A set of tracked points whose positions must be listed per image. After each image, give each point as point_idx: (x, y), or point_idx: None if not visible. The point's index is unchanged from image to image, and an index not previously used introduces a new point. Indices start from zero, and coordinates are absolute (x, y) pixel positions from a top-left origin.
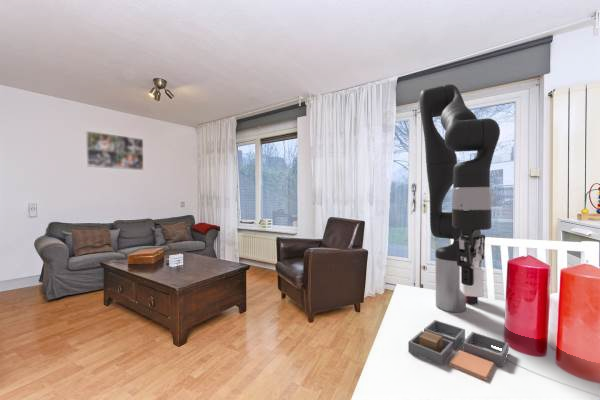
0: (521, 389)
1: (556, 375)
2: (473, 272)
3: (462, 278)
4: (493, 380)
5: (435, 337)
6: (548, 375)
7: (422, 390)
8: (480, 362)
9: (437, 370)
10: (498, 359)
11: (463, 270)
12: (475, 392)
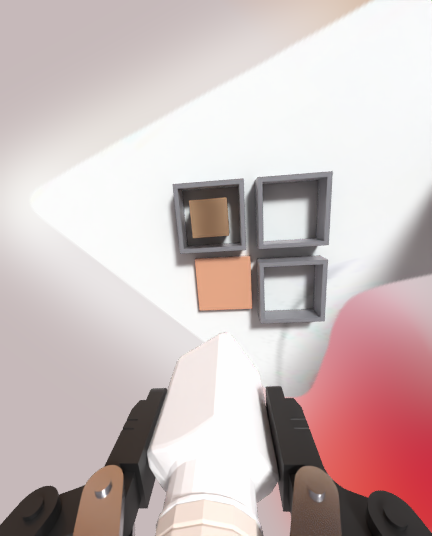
0: None
1: (295, 367)
2: (151, 483)
3: (129, 415)
4: (210, 314)
5: (213, 227)
6: (286, 360)
7: (103, 256)
8: (235, 294)
9: (166, 250)
10: (259, 315)
11: (108, 463)
12: (161, 305)
